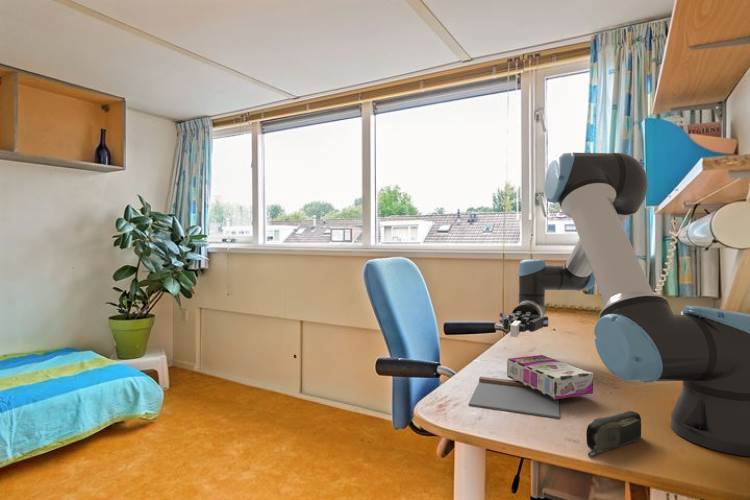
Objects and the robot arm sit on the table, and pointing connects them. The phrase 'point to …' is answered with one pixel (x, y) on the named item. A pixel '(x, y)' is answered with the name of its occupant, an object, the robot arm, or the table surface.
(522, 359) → the candy bar box
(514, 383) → the strip
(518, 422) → the table surface
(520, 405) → the mat
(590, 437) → the mobile phone
